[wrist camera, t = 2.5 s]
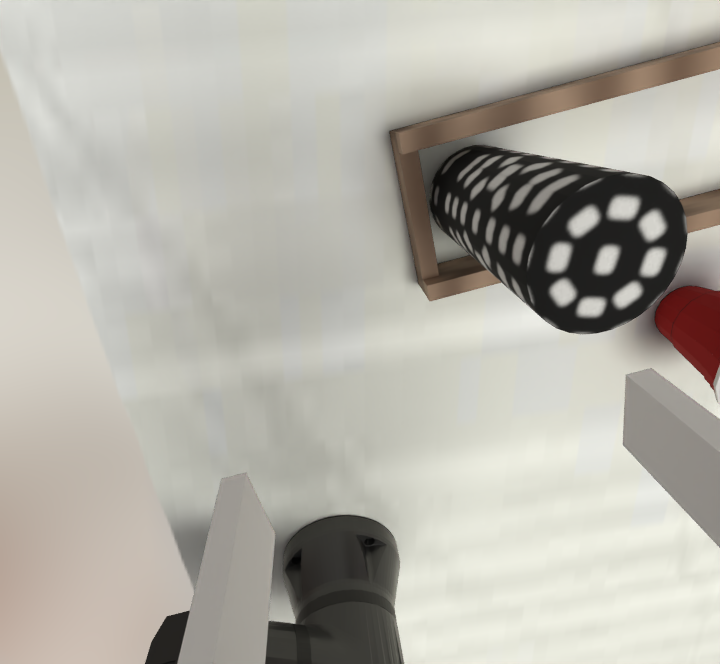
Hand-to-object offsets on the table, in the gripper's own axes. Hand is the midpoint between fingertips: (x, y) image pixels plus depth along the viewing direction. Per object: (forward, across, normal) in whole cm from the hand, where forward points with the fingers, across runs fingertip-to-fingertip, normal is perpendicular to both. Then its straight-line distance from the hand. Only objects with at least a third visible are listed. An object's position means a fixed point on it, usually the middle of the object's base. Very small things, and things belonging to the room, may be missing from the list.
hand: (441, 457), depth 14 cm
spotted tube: (+30, +11, 0) cm, 33 cm away
